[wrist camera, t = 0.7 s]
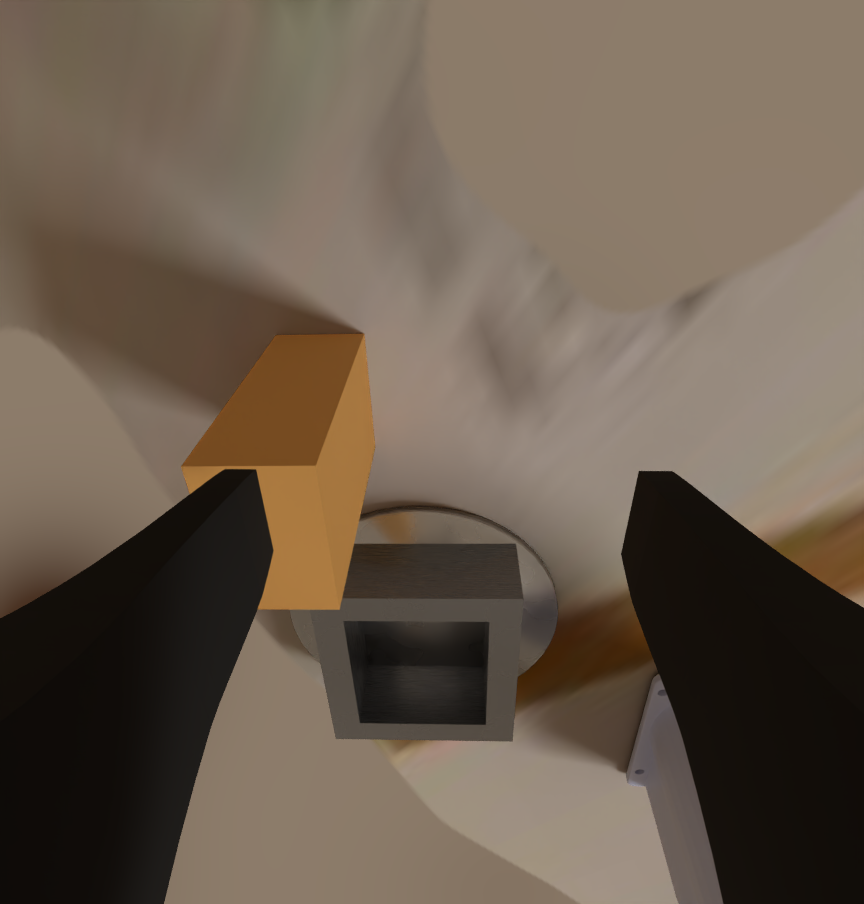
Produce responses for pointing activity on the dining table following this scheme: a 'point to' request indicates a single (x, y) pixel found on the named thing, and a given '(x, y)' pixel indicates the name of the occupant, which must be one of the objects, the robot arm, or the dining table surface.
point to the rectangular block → (300, 459)
